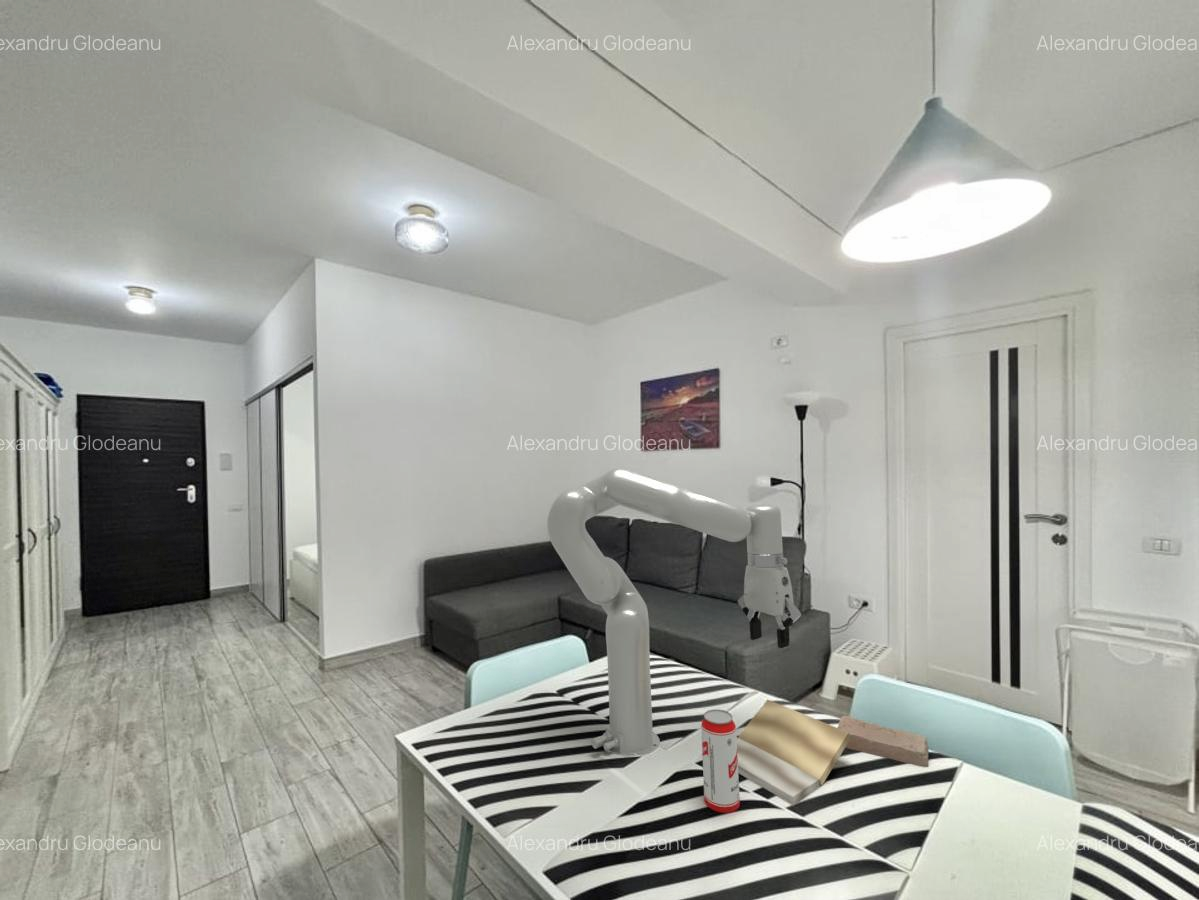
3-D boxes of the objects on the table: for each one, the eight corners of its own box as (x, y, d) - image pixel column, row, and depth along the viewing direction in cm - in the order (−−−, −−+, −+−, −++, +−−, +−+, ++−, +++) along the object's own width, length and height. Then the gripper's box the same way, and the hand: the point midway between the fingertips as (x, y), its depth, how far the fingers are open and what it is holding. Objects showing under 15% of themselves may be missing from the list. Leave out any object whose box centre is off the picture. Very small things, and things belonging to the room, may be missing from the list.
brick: (929, 755, 103) (927, 732, 103) (929, 776, 96) (927, 751, 96) (842, 735, 112) (840, 713, 112) (836, 752, 105) (834, 730, 106)
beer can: (741, 799, 90) (737, 710, 91) (739, 822, 84) (734, 726, 85) (706, 793, 92) (702, 706, 93) (702, 815, 87) (698, 721, 87)
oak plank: (821, 785, 92) (819, 779, 92) (740, 742, 107) (737, 737, 107) (850, 738, 99) (848, 732, 98) (769, 704, 114) (767, 699, 114)
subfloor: (793, 815, 86) (792, 800, 86) (706, 763, 102) (706, 751, 102) (862, 765, 100) (862, 753, 100) (777, 726, 116) (776, 716, 116)
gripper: (810, 563, 105) (815, 649, 104) (744, 554, 119) (748, 630, 118) (789, 567, 100) (794, 657, 99) (723, 558, 114) (727, 636, 113)
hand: (769, 641), depth 109 cm, fingers open, 6 cm apart
